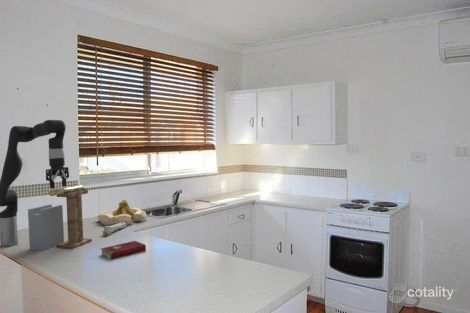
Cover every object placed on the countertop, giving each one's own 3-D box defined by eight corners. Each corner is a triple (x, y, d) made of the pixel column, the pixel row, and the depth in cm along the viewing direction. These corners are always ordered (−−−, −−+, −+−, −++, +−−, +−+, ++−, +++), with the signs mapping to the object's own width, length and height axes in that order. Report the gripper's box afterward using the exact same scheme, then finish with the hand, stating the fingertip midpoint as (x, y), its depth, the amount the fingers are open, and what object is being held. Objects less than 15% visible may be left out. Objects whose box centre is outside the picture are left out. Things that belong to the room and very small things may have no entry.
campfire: (119, 228, 270) (119, 204, 269) (88, 223, 288) (87, 201, 286) (154, 219, 299) (154, 197, 298) (124, 214, 317) (123, 194, 316)
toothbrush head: (127, 222, 273) (108, 225, 249) (127, 231, 272) (107, 235, 248) (120, 221, 274) (101, 225, 250) (120, 231, 274) (100, 235, 249)
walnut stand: (73, 248, 222) (70, 191, 221) (56, 247, 226) (54, 191, 224) (91, 241, 238) (89, 188, 236) (76, 239, 241) (73, 187, 240)
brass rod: (53, 196, 214) (53, 190, 214) (49, 195, 215) (49, 190, 215) (83, 189, 237) (83, 185, 237) (79, 189, 238) (79, 185, 238)
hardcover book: (146, 251, 217) (145, 244, 216) (110, 260, 202) (110, 252, 202) (135, 247, 225) (135, 240, 225) (100, 255, 211) (100, 247, 211)
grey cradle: (43, 250, 219) (41, 210, 218) (29, 249, 223) (27, 209, 221) (64, 243, 234) (62, 205, 233) (51, 242, 238) (49, 204, 236)
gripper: (60, 156, 213) (62, 185, 214) (40, 158, 200) (42, 189, 200) (71, 156, 211) (73, 185, 212) (52, 157, 197) (54, 189, 198)
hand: (58, 187), depth 206 cm, fingers open, 8 cm apart
